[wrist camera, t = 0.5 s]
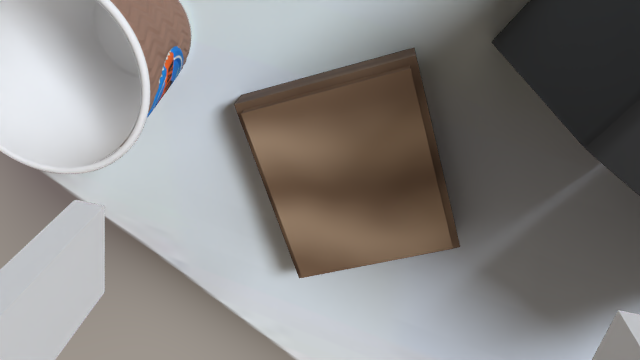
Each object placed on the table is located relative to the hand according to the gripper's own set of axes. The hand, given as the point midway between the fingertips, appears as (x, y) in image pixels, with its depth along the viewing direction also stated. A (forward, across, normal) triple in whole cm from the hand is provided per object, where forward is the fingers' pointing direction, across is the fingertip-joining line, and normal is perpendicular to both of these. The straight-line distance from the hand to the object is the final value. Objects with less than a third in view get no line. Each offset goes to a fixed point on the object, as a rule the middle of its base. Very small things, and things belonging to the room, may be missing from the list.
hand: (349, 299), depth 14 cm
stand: (+24, 0, -7) cm, 26 cm away
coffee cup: (+25, -15, -1) cm, 29 cm away
